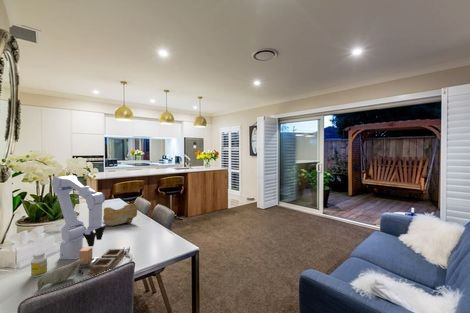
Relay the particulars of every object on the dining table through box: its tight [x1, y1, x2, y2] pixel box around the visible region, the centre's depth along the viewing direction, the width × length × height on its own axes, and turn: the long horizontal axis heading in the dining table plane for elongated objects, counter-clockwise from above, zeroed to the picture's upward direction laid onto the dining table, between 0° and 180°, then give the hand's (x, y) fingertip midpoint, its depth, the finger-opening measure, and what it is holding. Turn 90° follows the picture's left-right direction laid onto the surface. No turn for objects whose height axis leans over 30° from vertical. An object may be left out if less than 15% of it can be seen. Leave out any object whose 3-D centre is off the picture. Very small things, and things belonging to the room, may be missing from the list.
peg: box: [78, 246, 93, 264], centre depth 110 cm, size 4×4×8 cm
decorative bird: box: [37, 259, 85, 291], centre depth 96 cm, size 5×16×8 cm, turn 139°
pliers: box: [122, 246, 133, 262], centre depth 121 cm, size 10×2×15 cm
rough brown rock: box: [102, 203, 138, 227], centre depth 172 cm, size 23×17×15 cm
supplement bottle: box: [30, 250, 48, 278], centre depth 101 cm, size 5×5×10 cm
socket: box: [78, 256, 99, 270], centre depth 111 cm, size 8×8×2 cm
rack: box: [87, 248, 126, 275], centre depth 112 cm, size 9×20×3 cm, turn 5°
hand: (95, 242), depth 112 cm, fingers open, 7 cm apart
